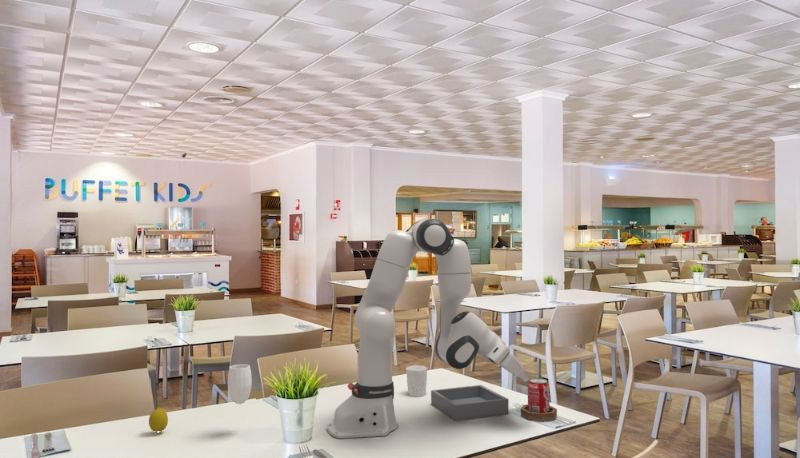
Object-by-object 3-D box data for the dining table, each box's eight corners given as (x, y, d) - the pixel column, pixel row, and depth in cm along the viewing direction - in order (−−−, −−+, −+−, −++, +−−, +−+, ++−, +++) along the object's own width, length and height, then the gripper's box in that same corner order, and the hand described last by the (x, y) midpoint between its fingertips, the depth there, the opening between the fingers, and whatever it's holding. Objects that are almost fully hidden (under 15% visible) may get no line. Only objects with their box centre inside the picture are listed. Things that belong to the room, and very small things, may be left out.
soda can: (548, 413, 205) (547, 377, 204) (551, 419, 197) (550, 383, 197) (526, 412, 205) (526, 377, 205) (529, 419, 198) (528, 382, 198)
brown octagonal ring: (533, 423, 194) (533, 415, 194) (515, 413, 205) (515, 406, 205) (562, 419, 198) (562, 411, 198) (543, 409, 208) (543, 402, 208)
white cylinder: (403, 392, 232) (403, 366, 232) (423, 390, 234) (423, 365, 234) (410, 398, 225) (410, 371, 225) (430, 396, 227) (430, 369, 227)
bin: (454, 420, 198) (454, 405, 198) (431, 404, 216) (431, 390, 216) (508, 413, 204) (508, 399, 204) (481, 398, 223) (481, 384, 223)
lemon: (148, 437, 185) (147, 411, 185) (150, 431, 190) (149, 406, 190) (167, 435, 186) (166, 409, 186) (169, 429, 192) (168, 404, 192)
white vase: (227, 430, 190) (226, 365, 190) (250, 427, 193) (250, 363, 193) (229, 438, 183) (228, 370, 183) (253, 435, 186) (252, 367, 186)
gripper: (477, 350, 209) (504, 376, 210) (495, 362, 188) (526, 391, 190) (489, 336, 209) (516, 363, 211) (509, 347, 189) (539, 376, 191)
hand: (521, 376), depth 200 cm, fingers open, 8 cm apart
